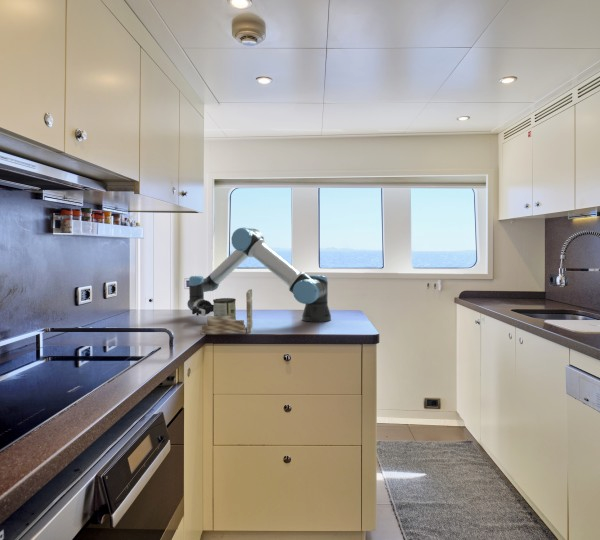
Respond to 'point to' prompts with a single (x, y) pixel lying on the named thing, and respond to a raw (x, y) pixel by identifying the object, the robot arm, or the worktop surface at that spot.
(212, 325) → the offcut stack
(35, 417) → the worktop surface
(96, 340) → the worktop surface
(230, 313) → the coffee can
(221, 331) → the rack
